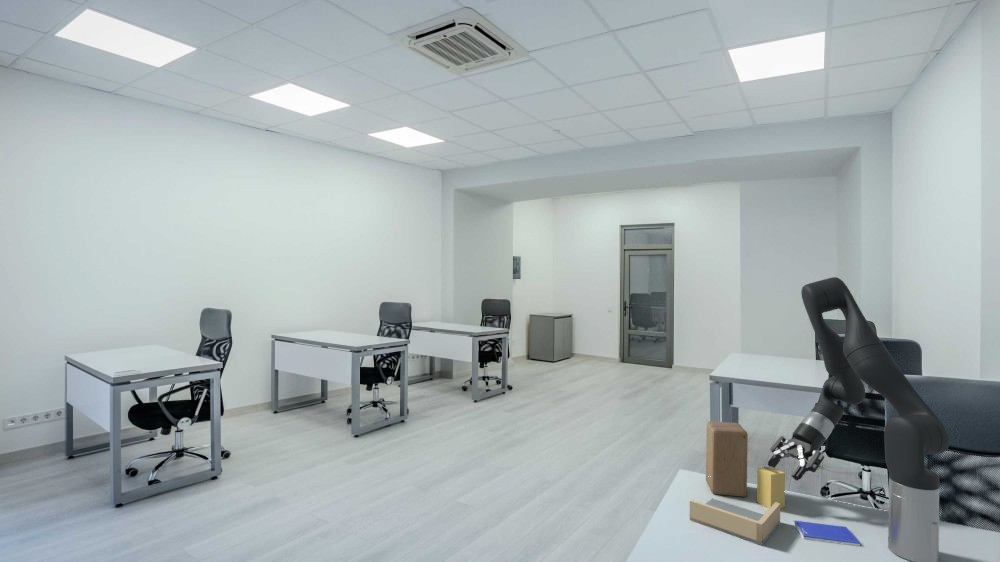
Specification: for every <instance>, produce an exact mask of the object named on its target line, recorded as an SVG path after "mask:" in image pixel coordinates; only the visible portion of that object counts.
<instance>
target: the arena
mask: <svg viewBox="0 0 1000 562" xmlns="http://www.w3.org/2000/svg"><path fill="white" fill-rule="evenodd" d="M689 521H692V522H694V523H697V524H700V525H701V526H702V525H703V526H706V527H708V528H711V529H714V530H717V531H719V532H722V533H725V534H729V535H730V536H733V537H736V538H740V539H743V540H744V541H747V542H751V543H753V544H756V545H759V546H763V545H764V543H765V542H766V541H767V540H768V538H769V537H770V536H771V535H772V534H773V532H774V531H775V530H776V529H777V527H779V525H780V524H781V508H780V503H777V502H775V503H774V504H773V505H772V506H771V508H770V509H769V508H768V510H767V511H766V512H765V513H763V514H762V513H760V512H756V511H753V510H751V509H747V508H744V507H741V506H737V505H734V504H731V503H728V502H725V501H722V500H719V499H715V498H711V499H710V500H707V502H706V503H703V502H701V501H699V500H695V499H690V500H689Z"/></svg>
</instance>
